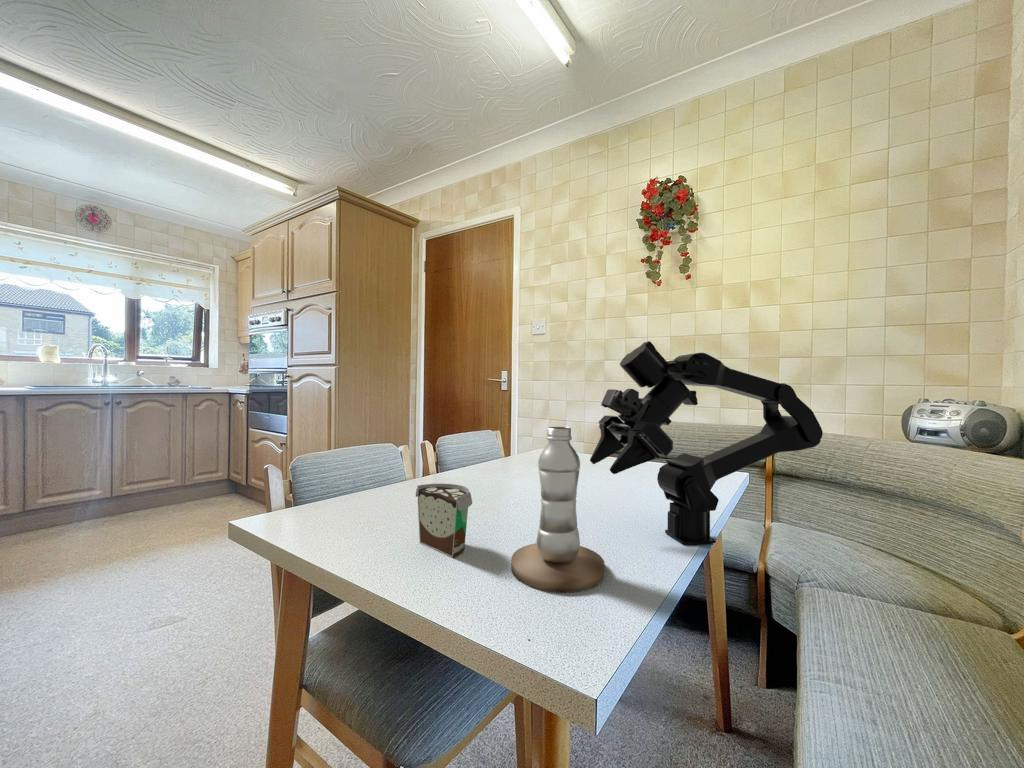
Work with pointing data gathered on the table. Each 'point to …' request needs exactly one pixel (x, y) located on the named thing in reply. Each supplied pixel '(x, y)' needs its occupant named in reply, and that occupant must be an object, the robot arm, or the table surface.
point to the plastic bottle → (558, 498)
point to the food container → (443, 517)
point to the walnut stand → (558, 570)
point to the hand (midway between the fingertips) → (600, 467)
